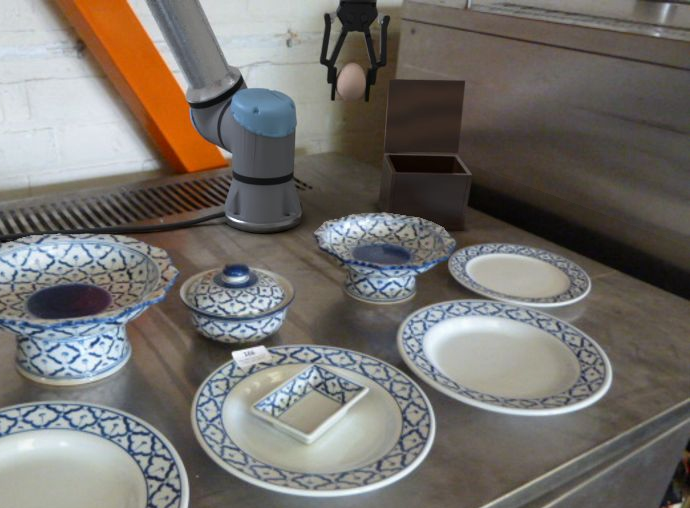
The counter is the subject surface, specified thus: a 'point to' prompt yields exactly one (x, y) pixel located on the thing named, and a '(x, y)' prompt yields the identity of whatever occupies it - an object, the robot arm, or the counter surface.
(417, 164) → the chest
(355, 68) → the egg
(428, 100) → the lid
